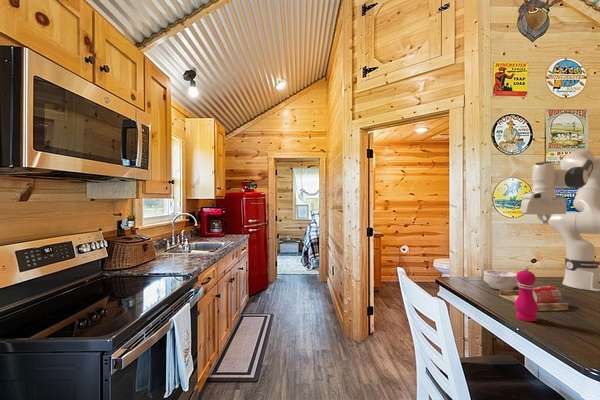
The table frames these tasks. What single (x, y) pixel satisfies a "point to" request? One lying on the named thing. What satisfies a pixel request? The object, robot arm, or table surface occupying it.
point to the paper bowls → (501, 279)
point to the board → (514, 294)
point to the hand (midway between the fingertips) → (544, 223)
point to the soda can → (546, 294)
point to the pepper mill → (526, 296)
